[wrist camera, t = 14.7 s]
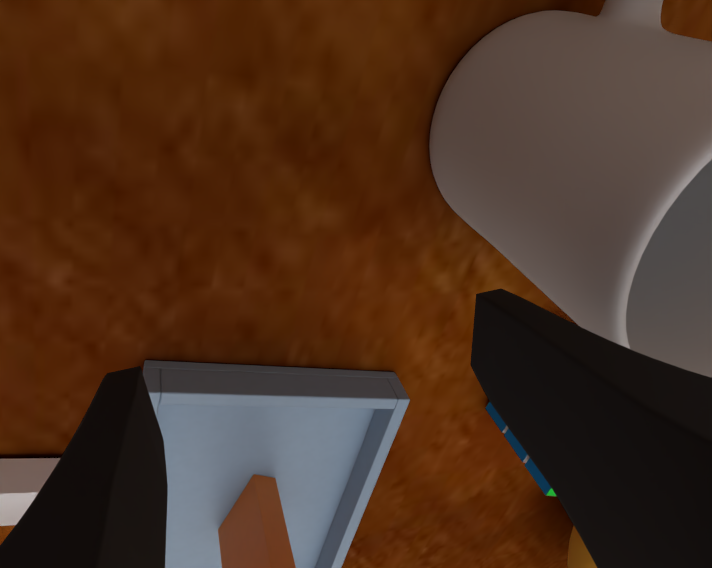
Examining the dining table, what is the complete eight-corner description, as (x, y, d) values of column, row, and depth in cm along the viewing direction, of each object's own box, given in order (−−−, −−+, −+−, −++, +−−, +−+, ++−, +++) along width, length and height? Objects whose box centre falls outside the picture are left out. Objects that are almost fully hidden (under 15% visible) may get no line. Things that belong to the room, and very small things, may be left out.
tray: (107, 610, 30) (104, 649, 28) (144, 359, 23) (144, 392, 21) (311, 588, 34) (319, 621, 33) (395, 371, 27) (410, 399, 26)
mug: (578, 229, 26) (800, 385, 17) (406, 224, 23) (563, 408, 14) (694, -81, 21) (1115, -85, 12) (483, -135, 18) (823, -198, 9)
